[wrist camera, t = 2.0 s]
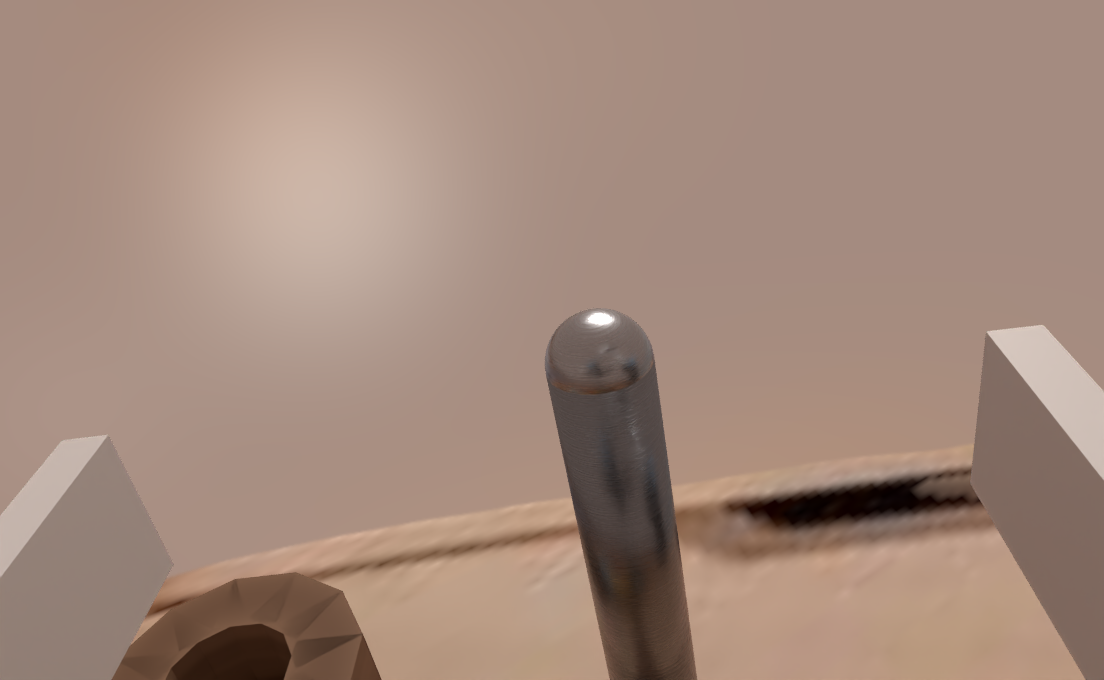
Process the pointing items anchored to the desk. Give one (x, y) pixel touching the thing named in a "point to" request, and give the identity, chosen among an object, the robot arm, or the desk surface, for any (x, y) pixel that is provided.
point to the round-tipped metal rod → (622, 492)
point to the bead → (255, 636)
